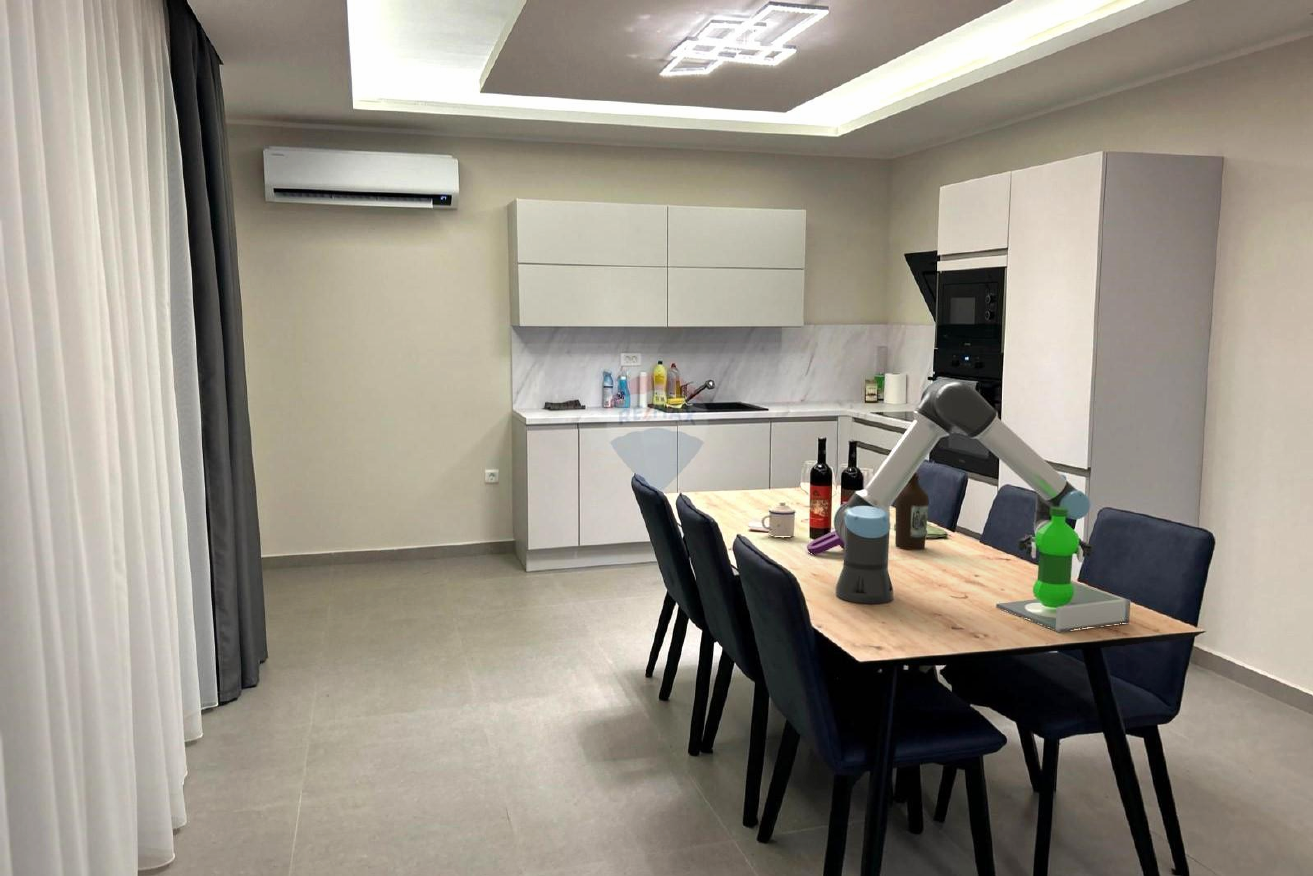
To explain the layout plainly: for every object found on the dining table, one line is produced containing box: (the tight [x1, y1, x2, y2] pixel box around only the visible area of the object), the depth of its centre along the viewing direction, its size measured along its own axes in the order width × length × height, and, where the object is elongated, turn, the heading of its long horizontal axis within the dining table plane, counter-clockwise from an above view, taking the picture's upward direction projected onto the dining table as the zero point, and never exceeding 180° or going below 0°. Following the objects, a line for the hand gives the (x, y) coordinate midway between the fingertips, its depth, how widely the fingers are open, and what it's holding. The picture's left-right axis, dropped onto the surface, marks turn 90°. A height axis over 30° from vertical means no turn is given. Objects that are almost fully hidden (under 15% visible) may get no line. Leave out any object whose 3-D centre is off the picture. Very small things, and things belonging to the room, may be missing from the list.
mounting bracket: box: [806, 530, 844, 555], centre depth 310 cm, size 10×8×18 cm
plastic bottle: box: [1032, 507, 1080, 608], centre depth 246 cm, size 10×10×25 cm
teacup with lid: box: [760, 501, 796, 537], centre depth 333 cm, size 12×9×12 cm
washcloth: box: [893, 522, 949, 539], centre depth 341 cm, size 13×18×3 cm
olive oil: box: [894, 470, 930, 550], centre depth 319 cm, size 11×11×25 cm
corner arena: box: [995, 580, 1132, 633], centre depth 247 cm, size 22×22×6 cm
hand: (1057, 554), depth 242 cm, fingers closed on plastic bottle, 10 cm apart
